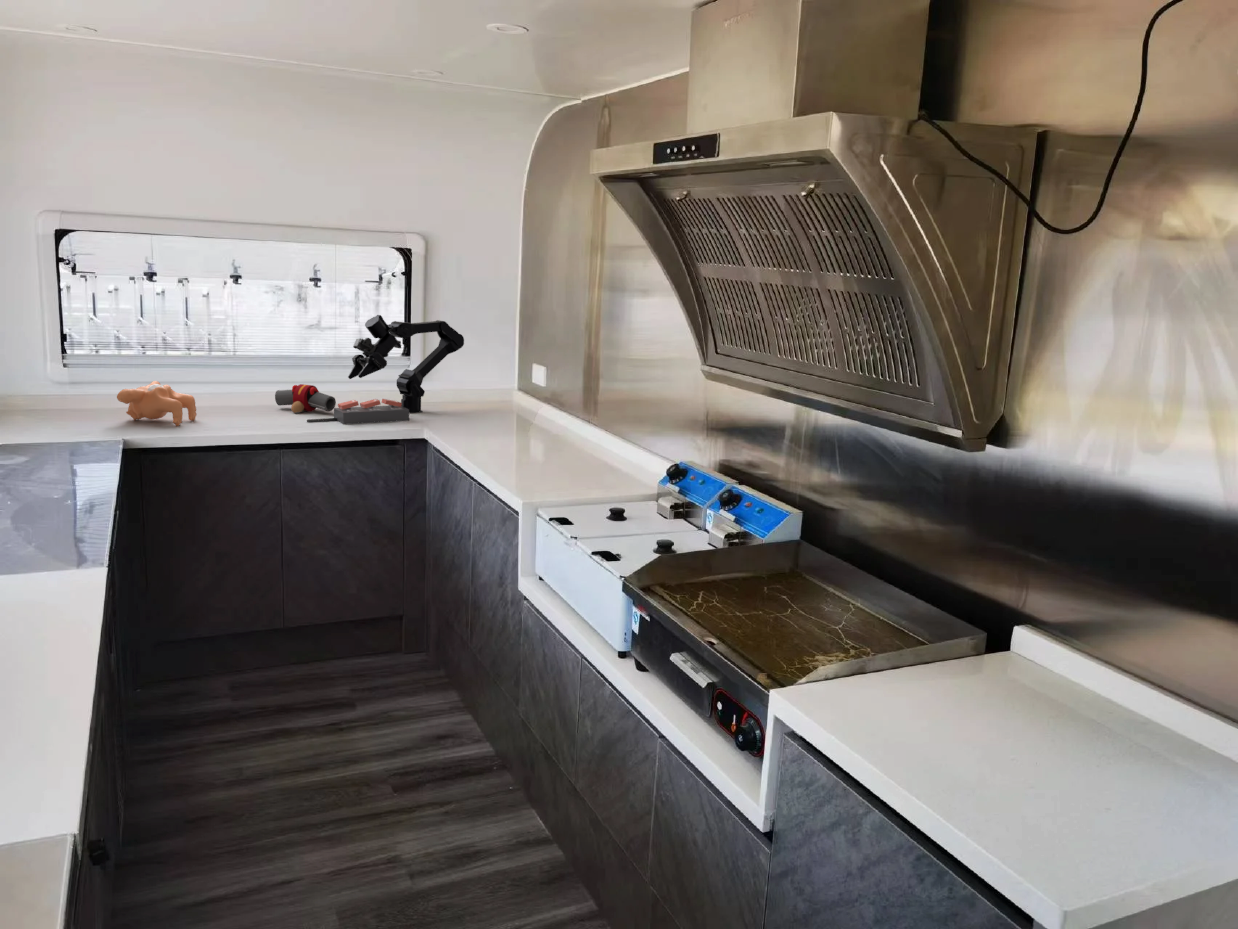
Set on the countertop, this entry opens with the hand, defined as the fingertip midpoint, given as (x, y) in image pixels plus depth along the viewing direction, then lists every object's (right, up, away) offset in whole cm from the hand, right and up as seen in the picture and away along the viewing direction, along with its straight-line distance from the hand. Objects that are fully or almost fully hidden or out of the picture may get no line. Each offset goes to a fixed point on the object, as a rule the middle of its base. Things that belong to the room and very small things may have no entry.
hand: (354, 377), depth 344 cm
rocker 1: (-1, -10, -4) cm, 11 cm away
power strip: (+2, -15, -3) cm, 16 cm away
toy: (-20, -12, +10) cm, 26 cm away
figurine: (-58, -17, -24) cm, 65 cm away
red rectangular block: (+12, -9, +5) cm, 16 cm away
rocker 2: (+6, -9, 0) cm, 11 cm away
